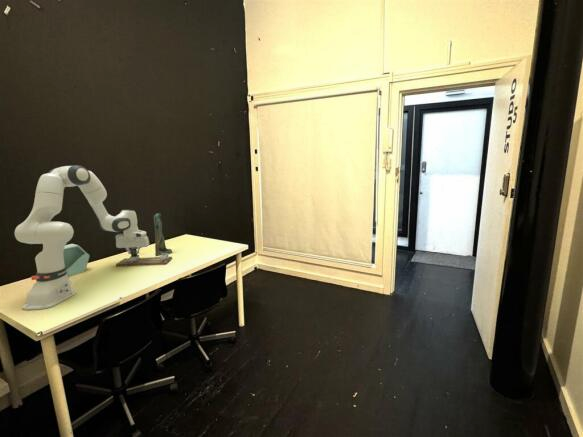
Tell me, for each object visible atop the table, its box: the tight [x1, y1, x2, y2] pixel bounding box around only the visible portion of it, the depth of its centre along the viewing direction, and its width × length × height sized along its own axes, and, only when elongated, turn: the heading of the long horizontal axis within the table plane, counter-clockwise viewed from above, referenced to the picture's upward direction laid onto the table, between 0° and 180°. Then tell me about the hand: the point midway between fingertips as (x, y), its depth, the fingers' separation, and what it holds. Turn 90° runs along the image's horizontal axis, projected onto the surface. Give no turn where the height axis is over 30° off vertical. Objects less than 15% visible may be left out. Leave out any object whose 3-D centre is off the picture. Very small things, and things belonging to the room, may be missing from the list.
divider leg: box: [129, 247, 140, 263], centre depth 202 cm, size 8×4×8 cm, turn 4°
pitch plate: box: [115, 253, 173, 268], centre depth 204 cm, size 12×32×6 cm, turn 94°
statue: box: [153, 213, 173, 257], centre depth 221 cm, size 7×11×30 cm, turn 124°
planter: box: [63, 243, 90, 277], centre depth 186 cm, size 17×8×21 cm
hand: (133, 253), depth 203 cm, fingers closed on divider leg, 4 cm apart
